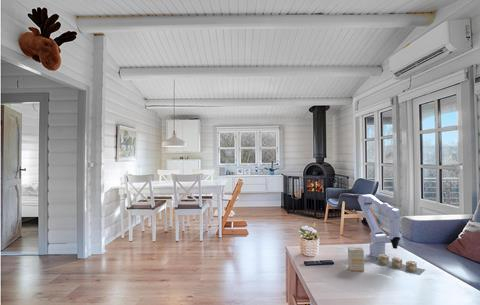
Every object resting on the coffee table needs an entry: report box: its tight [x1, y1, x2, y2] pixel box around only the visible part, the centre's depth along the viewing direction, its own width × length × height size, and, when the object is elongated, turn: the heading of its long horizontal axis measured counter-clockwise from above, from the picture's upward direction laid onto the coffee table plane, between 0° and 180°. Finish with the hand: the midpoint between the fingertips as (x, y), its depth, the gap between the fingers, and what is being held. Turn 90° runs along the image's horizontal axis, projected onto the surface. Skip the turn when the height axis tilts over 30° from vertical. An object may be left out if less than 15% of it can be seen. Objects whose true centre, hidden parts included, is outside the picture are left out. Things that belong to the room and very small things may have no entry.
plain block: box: [391, 256, 403, 268], centre depth 180 cm, size 4×4×4 cm
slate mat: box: [370, 257, 426, 276], centre depth 180 cm, size 28×12×1 cm, turn 42°
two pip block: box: [378, 254, 390, 264], centre depth 186 cm, size 4×4×5 cm
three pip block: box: [405, 259, 418, 271], centre depth 174 cm, size 4×4×5 cm
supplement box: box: [347, 246, 365, 272], centre depth 176 cm, size 8×5×13 cm, turn 84°
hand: (394, 248), depth 187 cm, fingers closed
